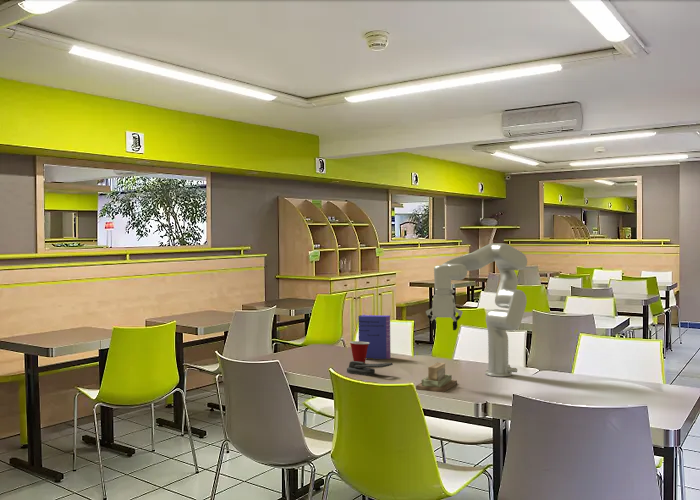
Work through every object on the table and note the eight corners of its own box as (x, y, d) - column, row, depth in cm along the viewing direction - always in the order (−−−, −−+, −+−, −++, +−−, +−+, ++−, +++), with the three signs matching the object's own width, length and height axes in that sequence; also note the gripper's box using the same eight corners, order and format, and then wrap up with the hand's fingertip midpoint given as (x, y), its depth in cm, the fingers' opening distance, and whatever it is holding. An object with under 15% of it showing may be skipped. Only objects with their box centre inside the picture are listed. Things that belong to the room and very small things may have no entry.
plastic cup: (374, 363, 338) (373, 341, 337) (358, 366, 331) (358, 343, 331) (360, 361, 346) (360, 339, 346) (345, 363, 339) (345, 341, 339)
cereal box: (390, 357, 356) (390, 315, 356) (389, 359, 352) (389, 316, 351) (360, 357, 359) (359, 315, 359) (358, 358, 354) (358, 316, 354)
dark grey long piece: (383, 365, 299) (344, 359, 316) (383, 379, 299) (344, 372, 316) (394, 362, 306) (355, 356, 323) (394, 376, 306) (355, 369, 323)
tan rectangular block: (445, 380, 287) (445, 363, 287) (437, 386, 276) (436, 367, 276) (436, 379, 289) (436, 362, 289) (427, 385, 278) (427, 367, 278)
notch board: (457, 383, 288) (456, 374, 288) (444, 391, 272) (444, 382, 272) (430, 381, 294) (430, 372, 294) (416, 389, 278) (415, 380, 278)
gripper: (463, 291, 287) (465, 328, 287) (427, 291, 294) (429, 327, 295) (459, 293, 280) (460, 331, 280) (422, 293, 288) (423, 330, 288)
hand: (444, 329), depth 288 cm, fingers open, 9 cm apart
